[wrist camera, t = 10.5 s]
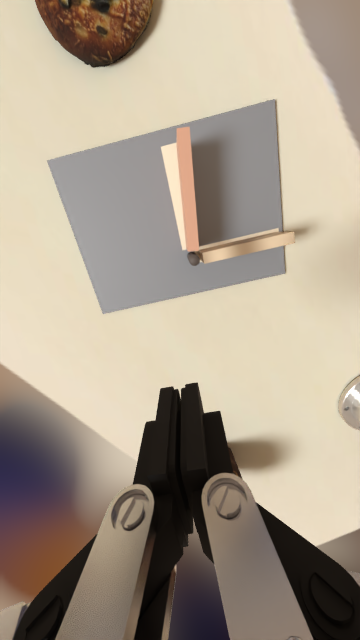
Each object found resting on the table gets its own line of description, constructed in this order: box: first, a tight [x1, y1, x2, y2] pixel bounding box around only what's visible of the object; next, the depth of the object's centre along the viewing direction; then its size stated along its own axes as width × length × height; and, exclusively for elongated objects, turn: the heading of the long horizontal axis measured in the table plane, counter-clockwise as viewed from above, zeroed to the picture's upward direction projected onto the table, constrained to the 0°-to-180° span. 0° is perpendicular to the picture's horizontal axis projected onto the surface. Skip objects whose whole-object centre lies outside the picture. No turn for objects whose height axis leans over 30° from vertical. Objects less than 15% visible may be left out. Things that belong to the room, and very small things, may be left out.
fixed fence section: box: [187, 231, 295, 266], centre depth 27 cm, size 12×1×5 cm, turn 103°
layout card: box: [47, 99, 285, 314], centre depth 28 cm, size 26×19×1 cm
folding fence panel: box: [176, 127, 199, 252], centre depth 25 cm, size 11×1×5 cm, turn 6°
